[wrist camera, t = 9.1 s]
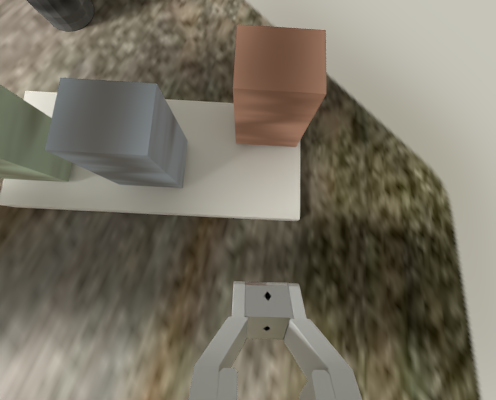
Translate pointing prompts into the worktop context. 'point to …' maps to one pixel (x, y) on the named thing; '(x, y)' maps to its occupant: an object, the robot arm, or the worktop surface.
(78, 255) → the worktop surface
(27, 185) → the base
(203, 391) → the robot arm
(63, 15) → the beverage cup
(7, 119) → the sage green block
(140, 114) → the grey tall block
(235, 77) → the pink tall block
